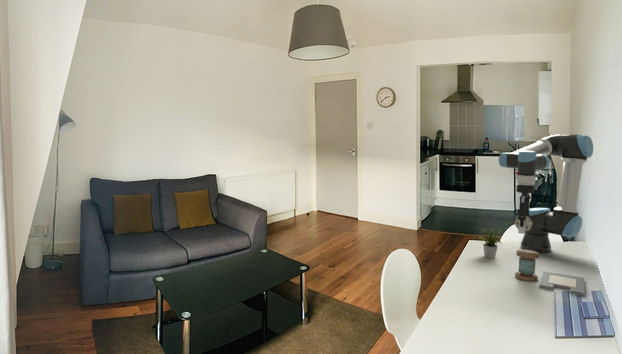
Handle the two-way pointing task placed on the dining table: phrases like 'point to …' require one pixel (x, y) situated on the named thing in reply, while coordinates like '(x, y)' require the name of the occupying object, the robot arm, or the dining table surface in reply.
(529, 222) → the game die
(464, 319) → the dining table surface
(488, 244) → the house plant
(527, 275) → the bobbin
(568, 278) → the notched board
